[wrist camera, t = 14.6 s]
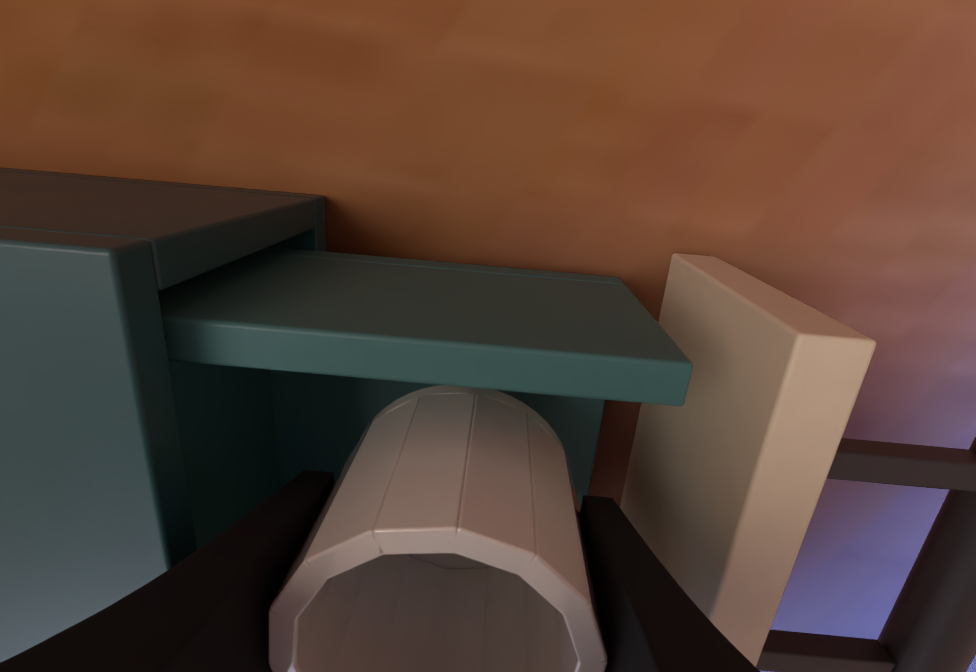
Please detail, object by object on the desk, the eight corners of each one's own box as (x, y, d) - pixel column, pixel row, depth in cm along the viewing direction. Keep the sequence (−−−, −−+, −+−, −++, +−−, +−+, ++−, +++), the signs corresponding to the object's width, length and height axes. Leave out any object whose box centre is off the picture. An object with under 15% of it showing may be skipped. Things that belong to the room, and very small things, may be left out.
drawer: (902, 272, 13) (1215, 370, 7) (789, 575, 17) (938, 803, 11) (248, 215, 14) (44, 267, 8) (275, 527, 17) (151, 726, 11)
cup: (617, 459, 11) (680, 639, 7) (488, 597, 13) (477, 810, 9) (428, 337, 11) (375, 462, 6) (314, 501, 12) (212, 686, 8)
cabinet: (326, 195, 14) (112, 249, 7) (336, 527, 18) (212, 800, 11) (-154, 154, 14) (-908, 159, 7) (-37, 493, 18) (-424, 737, 11)
